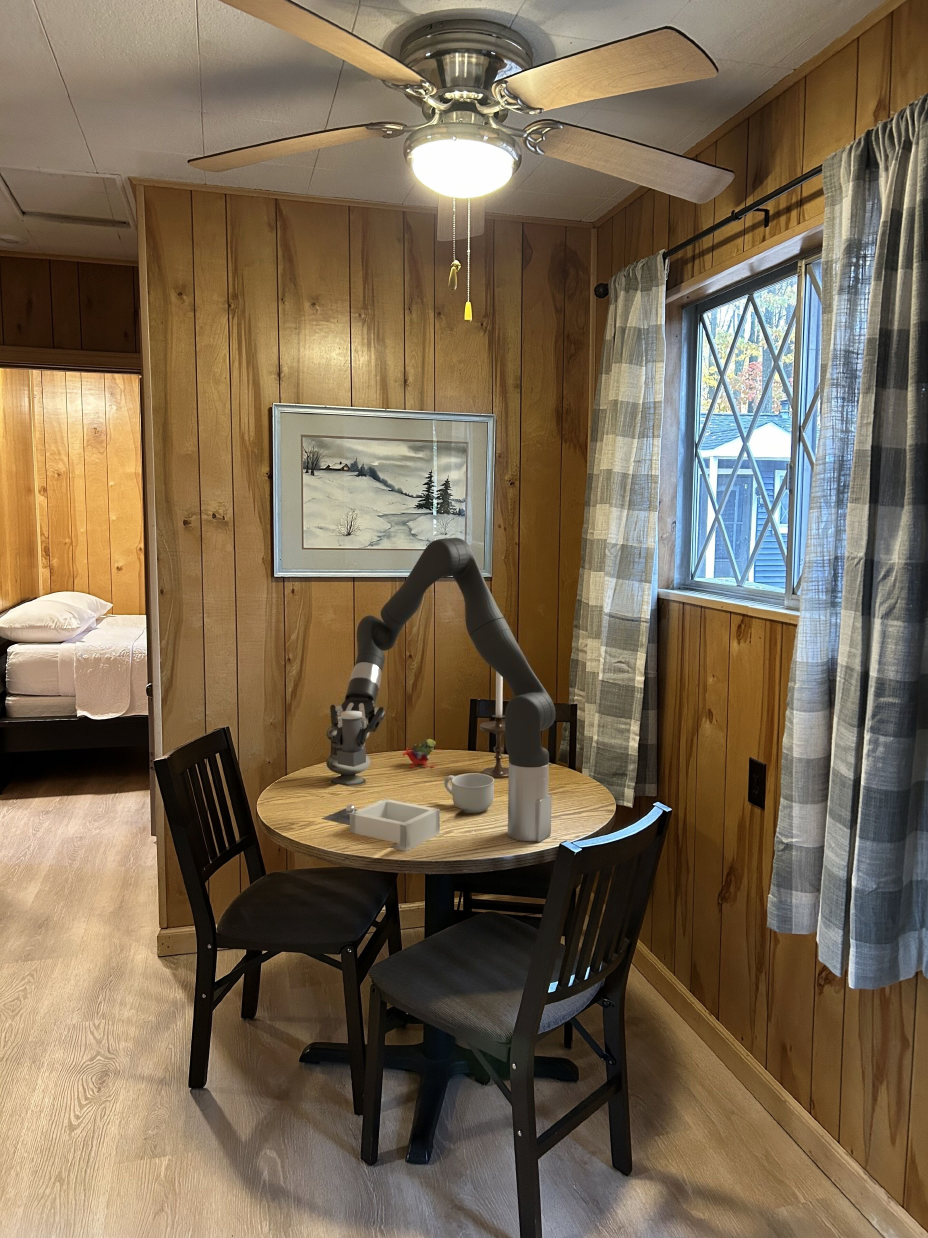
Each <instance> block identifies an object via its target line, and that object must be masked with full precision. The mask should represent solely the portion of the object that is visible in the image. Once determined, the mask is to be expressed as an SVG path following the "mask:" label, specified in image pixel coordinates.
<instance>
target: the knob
mask: <svg viewBox="0 0 928 1238" xmlns="http://www.w3.org/2000/svg"><path fill="white" fill-rule="evenodd" d="M340 717H341V718H342V750H339V751H337V758H338V764H340V765H346V766H352V767H355V766H357V765H360V764H363V763H366V755H367V749H366V748H365V749H361V747H358V744H357V739H358V735H359V731H360V729H361V717H362V712H360V711H344V712H343V711H341V712H340Z"/></svg>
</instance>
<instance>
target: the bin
mask: <svg viewBox="0 0 928 1238" xmlns="http://www.w3.org/2000/svg"><path fill="white" fill-rule="evenodd" d="M356 810H357V811H355V812H353V813H350V825H349V833H351V834H356V835H361V836H364V837H369V838H373V839H379V840H382V841H383V840H384V841H387V842H391V843H395V844H393V845H391V846H389V847H388V848H391V849H395V850H399V851H403V852H407V851H409V850H411V849H413V848H415V847H417V846H419V845H421V844H423V843H425V842H427V841H429V840H430V839H432V838H435V837H437V836H438V835H440V833H441V832H440V825H441V823H440V822H441V820H440V819H441V817H440V816H441V815H440V814H441V813H440V812H441V810H440V809H439V808H433V807H429V806H425V805H419V804H413V803H408V802H403V801H398V800H395V799H394V800H393V799H389V798H384V799H381V800H378V801H377V802H374V803H371V804H369V805H367V806H364V807H362V808H360V809H356Z"/></svg>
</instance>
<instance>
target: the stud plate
mask: <svg viewBox="0 0 928 1238" xmlns="http://www.w3.org/2000/svg"><path fill="white" fill-rule="evenodd" d="M357 810H358V809H356V807H355V805H353V804H348V805H347V806H346V807H345V808H343V809H341V810H339V811H335V812H334V813H331V814H328V815H326V816H324V817H322V818H320V820H325V821H328V822H329V821H330V822H334V823H338V824H342V825H346V826H350V813H353V812H355V811H357Z"/></svg>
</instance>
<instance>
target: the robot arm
mask: <svg viewBox="0 0 928 1238" xmlns="http://www.w3.org/2000/svg"><path fill="white" fill-rule="evenodd" d="M449 577H452V578H453V579H454V581H455V582H456V584H457V586H458V588H459V590H460V591H461V595H462V597H463V601H464V619H465V626H466V627H465V628H466V631H467V633H468V635H469V637H470V639H471V641H472V644H473V645H474V648H475V649H476V651H477V652H478V653H477V654H479V655H480V656H481V658H482V659H483V660H484V662H486V663H487V664H488V666H490V667H491V668H492V669H493V670H494V671H495V672H496V671H497V672H498V673H499V674H500V675H501V676H502V677H503V679H504V681H505V682H506V683H507V685H508V686H509V689H510V691H511V692H512V694H513V696H514V697H513V698H511V699H510V700H509V702H508V703H507V705H506V706H505V712H504V715H505V717H504V721H505V733H504V736H505V737H504V738H505V739H504V743H505V750H506V752H507V755H508V768H509V777H508V778H507V779H508V784H507V785H508V786H507V787H508V789H507V790H508V791H507V792H508V793H507V794H508V795H507V796H508V797H507V799H508V800H507V835H508V837H509V838H511V839H514V840H516V841H521V842H538V843H539V842H542V841H543V840H545V839H546V838H547V837H549V836H551V834H552V802H553V801H552V800H553V799H552V798H553V797H552V794H550V793H549V775H550V773H549V772H550V771H549V770H550V769H549V768H550V766H549V765H550V763H549V762H550V752H549V751H548V749H546V748H545V747H543V746H542V736H541V735H542V733H541V732H542V731H544V730H546V729H548V728H550V727H551V726H552V725H553V724H554V722H555V720H556V714H557V713H556V707H555V704H554V702H553V700H552V697H551V696H550V694H549V693H548V692H547V690H546V689H545V687H544V685H543V684H542V683H541V681H540V680H539V678H538V677H537V675H536V674H535V672H534V671H533V669H532V668H531V665H530V664H529V663H528V660H527V658H526V656H525V654H524V653H523V651H522V649H521V648H520V645H519V643H518V641H516V638H515V636H514V634H513V632H512V630H511V627H510V626H509V624H508V623H507V620H506V619H505V617H504V615H503V613H502V612H501V610H500V609H499V606H498V604H497V603H496V600H495V598H494V596H493V595H492V593H491V591H490V589H489V587H488V585H487V583H486V580H485V578H484V576H483V573H482V572H481V569H480V566H479V563H478V561H477V558H476V556H475V554H474V552H473V549H472V547H471V545H469V544H468V542H467V541H466V540H465V539H462V538H460V537H448V538H447V537H446V538H445V537H444V538H439V539H434V540H432V541H431V542H430V543H428V544H427V545H426V547H425V549H423V552H422V553H421V554H420V557H419V558H418V560H417V561H416V563H415V564H414V566H413V568H412V570H411V571H410V573H409V574H408V576H407V578H406V579H405V580H404V582H403V583H402V584H401V586H400V587H399V589H398V590H396V591H395V593H393V595H392V596H391V597H390V598H389V599H388V601H387V602H386V603H385V604H384V605H383V607H381V610H380V617H381V619H380V618H378V617H376V616H375V615H365V616H363V618H362V619H360V621H359V623H358V625H357V629H356V645H357V651H356V652H357V655H356V660H355V663H354V666H353V669H352V672H351V674H350V677H349V682H348V685H347V690H346V693H345V697H344V700H343V702H342V703H341V705H335V704H331V705H330V707H329V709H330V724H331V726H333V728H334V730H337V733H336V737H335V740H336V742H337V743H338V745H339V746H342V719H341V721H340V722H339V723H338V717H340V715H341V712H344V711H360V712H362V717H361V727H362V729H360V731H359V735H358V739H357V744H358V747H362V745H364V744H365V745H366V740H367V738H366V737H367V734H368V732H369V733H371V732H372V733H376V732H377V730H378V728H379V726H380V724H382V721H383V720H384V718H385V716H386V712H385V709H384V707H383V706H379V707H377V706H376V703H377V698H378V694H379V691H380V688H381V681H382V674H383V669H384V665H385V661H386V656H385V653H384V652H385V651H386V652H387V651H389V650H391V649H392V648H393V647H394V646H395V645H396V643H397V640H398V637H399V635H400V633H401V631H402V630H403V627H404V626H405V624H406V623H407V622H408V621H409V620H410V619H411V618H412V617H413V616H414V615H415V614H416V612H417V611H418V610H419V608H420V606H421V605H422V601H423V598H424V595H425V593H426V591H427V590H428V589H429V588H430V587H431V586H432V585H433V584H435V582H437V581H438V580H440V579H441V578H442V579H443V578H449ZM373 714H374V715H373ZM372 715H373V717H372V719H371V721H369V718H370V717H371V716H372Z"/></svg>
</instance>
